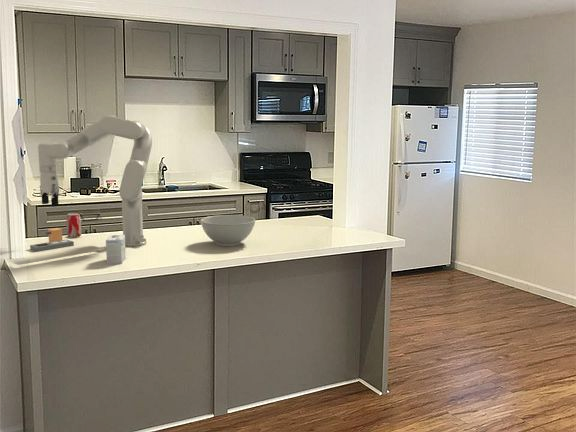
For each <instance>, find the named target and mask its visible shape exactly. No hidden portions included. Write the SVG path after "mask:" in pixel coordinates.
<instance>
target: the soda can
mask: <svg viewBox="0 0 576 432" xmlns="http://www.w3.org/2000/svg"><path fill="white" fill-rule="evenodd" d="M66 215H67V216H66V218H65V219H66V235H67V237H68V238H70V237H73V238H75V239H77V238H80V237H81V236H82V219H81V216H80V213H78V212H70V213H67V214H66Z"/></svg>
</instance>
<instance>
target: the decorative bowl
mask: <svg viewBox="0 0 576 432" xmlns="http://www.w3.org/2000/svg"><path fill="white" fill-rule="evenodd" d="M255 224H256V219H255V217H252V216H249V215H248V216H247V215H240V214H219V215H211V216H206V217H203V218H201V219H200V225H201V227H202V229H203V232H204V233H205V234H206V236H207V237H208V238H209V239H210V240H212V241H213V242H215V245H217V246H221V247H235V246H239V245H241V243H242V241H244V240H246V239H247V238H248V237H249V235H250V234H251V233H252V231H253V229H254V227H255Z"/></svg>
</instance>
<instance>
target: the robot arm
mask: <svg viewBox="0 0 576 432" xmlns="http://www.w3.org/2000/svg"><path fill="white" fill-rule="evenodd" d="M111 135H112V136H115V137H119V138H120V137H121V138H125V139H127V140H128V139H129V140H133V147H132V149H131V154H130V158H129V160H128V162H127V164H125V167H124V171H123V175H122V178H121V182H120V186H119V189H118V194H119V196H120V199H121V210H122V211H121V215H122V217H121V218H122V235H125V247H137V246H143V245H146V244H147V239H146V238H145V237H144V236H145V235H144V229H143V228H144V227H143V226H144V225H143V223H144V222H143V221H144V220H143V188H142V186H143V182H144V179H145V176H146V173H147V169H148V163H149V160H150V154H151V151H152V147H153V138H152V134H151V132H150V130H149V128H148V127H147V126H146V125H145V124H144V123H143V122H142V121H140V120H130V119H125V118H120V117H117V116H116V115H113V114H107V115H104V116H103V117H102V118H100V119H98V120H97V121H95V122H93V123H92V124H90V125H88V126H86V127H85V128H83V129H82V130H81V131H80V132H78V133H77V134H76V135H74V136H72V137H70V138H68V139H66V140H65V141H63V142H58V143H51V142H42V143H41V142H40V143H39V144H38V145H37V151H38V152H37V153H38V166H39V174H40V176H39V177H40V178H39V181H40V182H39V183H40V185H39V189H40V196H41V204H42V205H48V204H50V203H51V207H58V206H60V205H59V195H60V185H59V179H58V173H57V159H59V160H64V159H68V158H70V157H72V156H74V155H75V154H78V153H79V152H80V151H82V150H84V149H86V148H88V147H90V146H91V147H92V146H93V145H95V144H97V143H99V142H100V141H102V140H104V139H106V138H107V137H110V136H111ZM49 195H50V196H51V198H50V200H51V202H50V200H49ZM49 202H50V203H49Z"/></svg>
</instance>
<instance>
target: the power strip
mask: <svg viewBox="0 0 576 432" xmlns="http://www.w3.org/2000/svg"><path fill="white" fill-rule="evenodd" d="M74 243H75V242H74V241H73V240H71V239H70V240H69V239H62V240H60V241H53V242H49V241H48V242H41V243H36V244H31V245H29V249H30V251H32V252H33V251H34V252H37V253H40V252H46V251H50V250H56V249H62V248H69V247H73V246H75V244H74Z"/></svg>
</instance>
